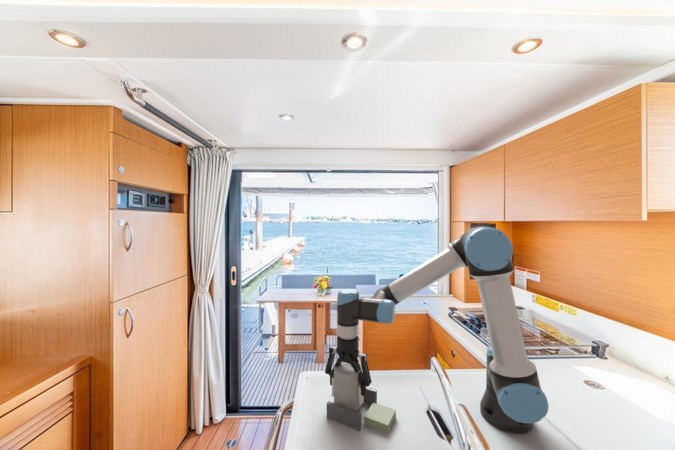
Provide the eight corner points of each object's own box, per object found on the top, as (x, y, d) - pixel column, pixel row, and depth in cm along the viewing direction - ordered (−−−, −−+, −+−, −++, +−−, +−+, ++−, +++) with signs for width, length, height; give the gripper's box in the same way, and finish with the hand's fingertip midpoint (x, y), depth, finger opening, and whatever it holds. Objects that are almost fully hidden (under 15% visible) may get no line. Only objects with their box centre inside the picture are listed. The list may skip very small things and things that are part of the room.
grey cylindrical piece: (359, 413, 93) (359, 376, 93) (330, 409, 95) (331, 372, 95) (362, 395, 102) (362, 361, 102) (336, 392, 104) (336, 359, 104)
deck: (395, 417, 94) (395, 409, 94) (387, 433, 87) (388, 425, 87) (373, 409, 98) (373, 402, 98) (364, 424, 91) (364, 416, 91)
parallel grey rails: (376, 403, 101) (376, 390, 101) (359, 431, 88) (359, 415, 88) (346, 393, 107) (346, 380, 107) (326, 417, 94) (326, 403, 94)
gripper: (382, 337, 96) (381, 402, 97) (325, 325, 107) (325, 384, 107) (373, 346, 89) (373, 416, 90) (314, 332, 100) (314, 395, 101)
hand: (347, 398), depth 99 cm, fingers closed on grey cylindrical piece, 9 cm apart
